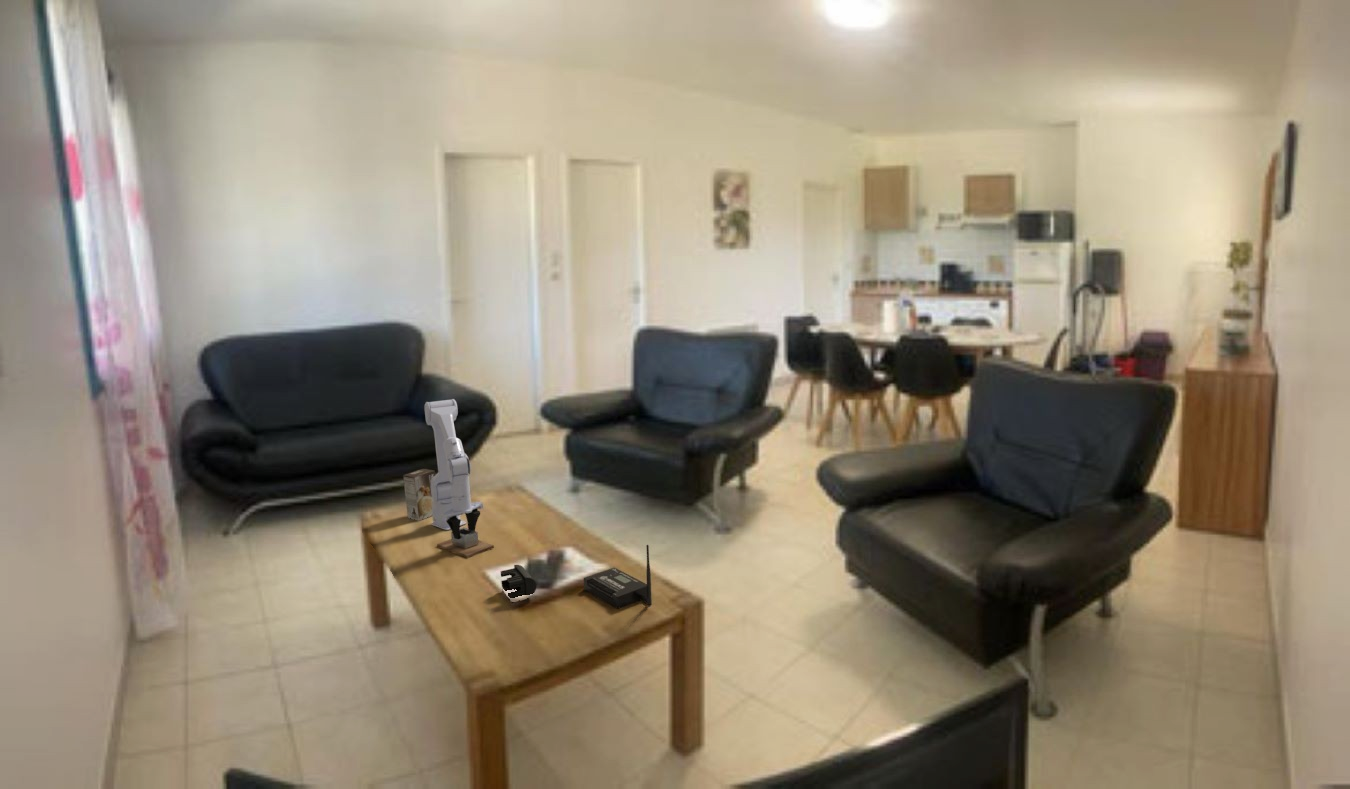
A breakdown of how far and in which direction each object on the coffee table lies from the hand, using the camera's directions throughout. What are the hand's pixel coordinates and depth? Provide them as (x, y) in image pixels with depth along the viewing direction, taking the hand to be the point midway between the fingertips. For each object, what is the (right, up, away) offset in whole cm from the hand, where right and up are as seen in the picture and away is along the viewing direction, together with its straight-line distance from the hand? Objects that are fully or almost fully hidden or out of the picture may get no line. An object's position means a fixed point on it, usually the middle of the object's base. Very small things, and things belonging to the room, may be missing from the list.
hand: (464, 535), depth 253 cm
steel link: (0, -3, 0) cm, 3 cm away
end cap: (+24, -10, -34) cm, 43 cm away
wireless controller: (+52, -10, -36) cm, 64 cm away
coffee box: (-23, +1, +31) cm, 38 cm away
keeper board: (0, -4, +1) cm, 4 cm away
